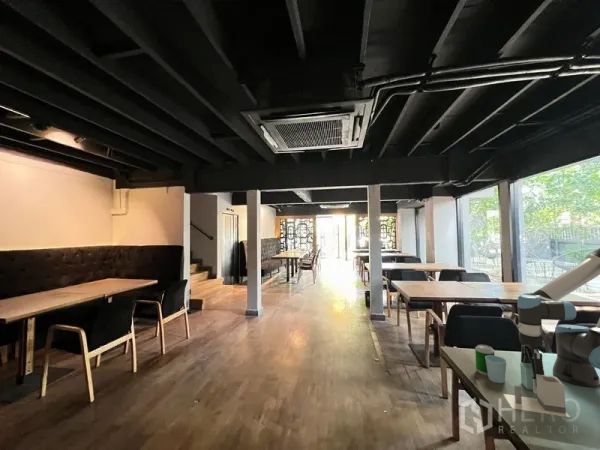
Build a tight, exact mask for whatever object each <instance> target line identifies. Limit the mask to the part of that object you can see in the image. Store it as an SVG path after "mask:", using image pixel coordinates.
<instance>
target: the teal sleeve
mask: <svg viewBox="0 0 600 450" xmlns="http://www.w3.org/2000/svg"><path fill="white" fill-rule="evenodd" d="M519 363H520V365H519V366H520V380H521V381H520V382H521V384H522V386H523V387H524V388H525V389H526V390H527V391H530V392H531V391H532V392H533V379H532V377H534V375H533V370H532V365H531V364H530V363H521V362H519Z"/></svg>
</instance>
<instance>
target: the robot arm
mask: <svg viewBox="0 0 600 450" xmlns="http://www.w3.org/2000/svg"><path fill="white" fill-rule="evenodd" d="M599 276H600V247H599V248H597V249H595V250H593V251H591V253H589V254H587V255H586V256H585V259H584V260H583V261H581V262H580V263H578V264H577V265H575V266H573V267H572V268H570V269H568V270H567V271H565V272H564V273H562V274H560V275H559V276H558V277H556V278H554V279H553V280H551V281H550V282H548V283H547V284H545V285H544V286H542V287H540V288H539V289H537V290H536V291H534V292H525V293H523V294H521V295H518V296H517V304H516V305H517V306H516V307H517V316H518V317H517V318H518V324H517V327H518V331H519V333H518V337H519V338H518V339H519V342H520V344H521V345H520V346H521V347H520V348H521V351H520V363H530V364H531V365H532V370H533V375H534V377H532V379H533V391H532V393H533V394H536V395H537V381H536V374H538V375H545V370H544V364H543V363H544V362H543V354H542V353H540V351H539V346H543V325H542V323H543V320H544V321H545V320H546V321H547V320H549V321H572V320H574V319H576V316H577V309H576V307H575V305H574V303H572V302H570V301H568V300H567V301H566V300H561V299H563V298H564V297H566V296H567V295H570V294H571V293H572V292H575V290H578V289H579V288H580V287H582V286H584V285H585V284H587V283H589V282H591V281H592V280H594V279H595V278H597V277H599ZM554 333H555V343H556V345H555V346H556V359H555V360H554V363H553V366H552V374H553V376H554V377H557V378H558V379H559V380H560V381H564V382H567V383H569V384H573V385H577V386H580V387H589V388H592V387H593V388H594V387H599V386H600V377H599V374H598V372H597V370H600V318H599V319H598V321H597V323H596V325H595V326H594V327H589V326H585V325H584V326H583V325H577V324H558V325H556V326H555V332H554ZM596 369H597V370H596Z"/></svg>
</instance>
